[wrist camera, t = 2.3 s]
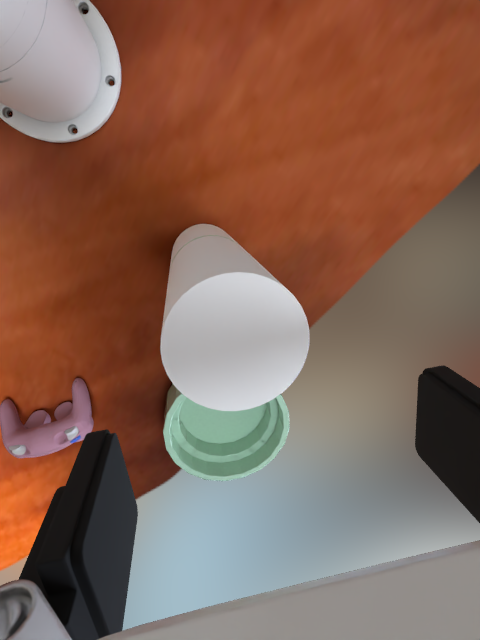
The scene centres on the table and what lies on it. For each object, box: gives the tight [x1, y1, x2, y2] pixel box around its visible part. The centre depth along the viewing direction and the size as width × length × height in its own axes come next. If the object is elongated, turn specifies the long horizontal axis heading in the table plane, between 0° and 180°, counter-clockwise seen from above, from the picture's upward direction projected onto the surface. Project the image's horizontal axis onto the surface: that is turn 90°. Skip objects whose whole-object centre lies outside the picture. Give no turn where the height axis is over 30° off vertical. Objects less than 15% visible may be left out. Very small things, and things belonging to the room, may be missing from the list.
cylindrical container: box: [160, 224, 309, 411], centre depth 29 cm, size 7×7×25 cm
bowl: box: [163, 384, 289, 481], centre depth 45 cm, size 14×14×6 cm
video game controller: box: [0, 378, 93, 458], centre depth 42 cm, size 10×5×7 cm, turn 105°
